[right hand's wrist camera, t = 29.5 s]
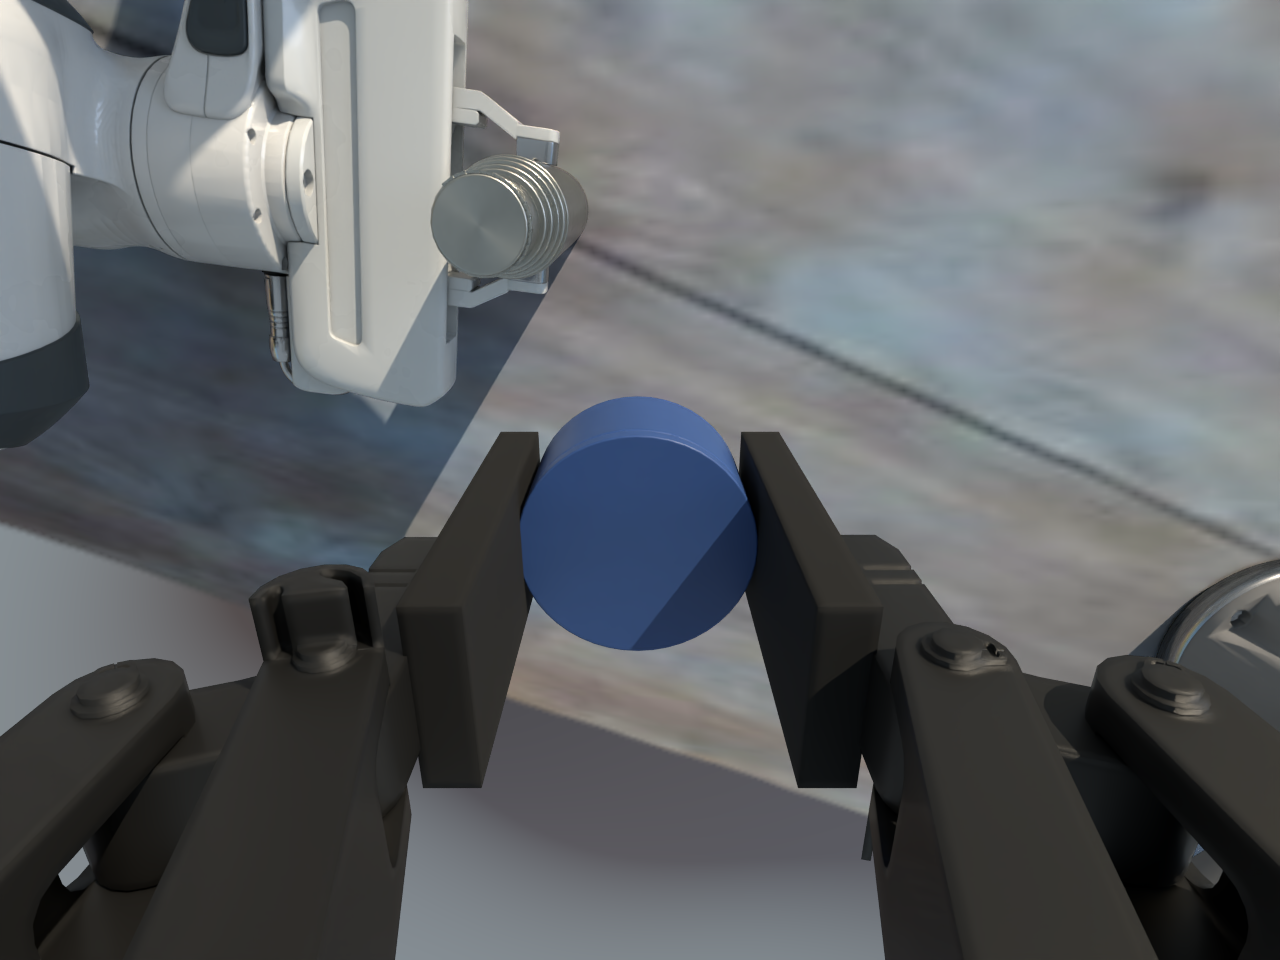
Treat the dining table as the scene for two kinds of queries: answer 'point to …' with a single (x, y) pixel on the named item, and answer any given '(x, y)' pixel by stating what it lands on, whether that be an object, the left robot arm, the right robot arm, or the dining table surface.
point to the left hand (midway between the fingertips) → (552, 214)
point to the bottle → (507, 217)
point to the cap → (637, 526)
